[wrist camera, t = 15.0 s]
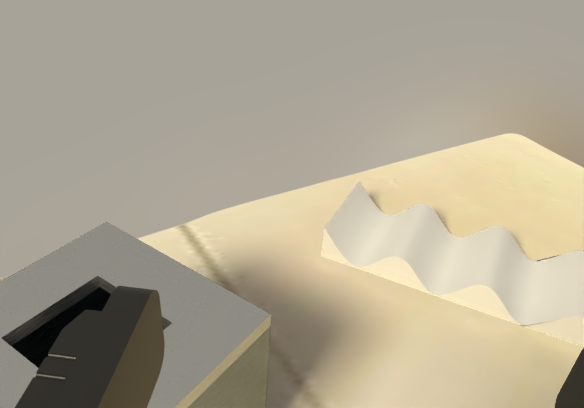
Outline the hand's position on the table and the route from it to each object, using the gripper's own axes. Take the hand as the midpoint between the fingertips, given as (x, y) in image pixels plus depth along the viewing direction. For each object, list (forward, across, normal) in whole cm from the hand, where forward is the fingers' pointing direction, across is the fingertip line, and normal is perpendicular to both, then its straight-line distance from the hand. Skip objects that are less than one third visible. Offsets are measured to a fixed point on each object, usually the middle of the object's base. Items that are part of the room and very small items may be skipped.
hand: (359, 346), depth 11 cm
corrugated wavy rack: (+48, -18, +39) cm, 65 cm away
